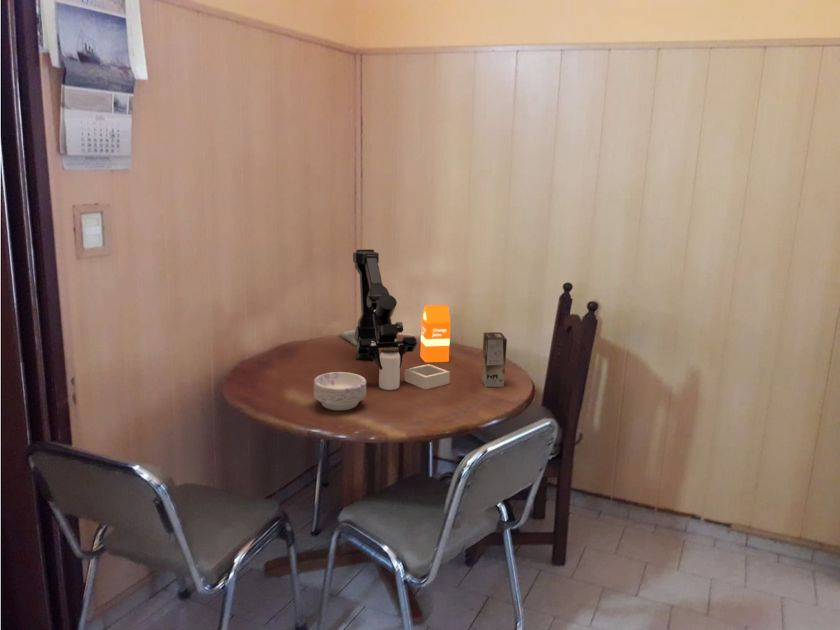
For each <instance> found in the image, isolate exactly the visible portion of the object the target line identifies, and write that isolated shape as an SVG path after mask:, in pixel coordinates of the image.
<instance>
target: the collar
mask: <svg viewBox="0 0 840 630" xmlns="http://www.w3.org/2000/svg"><path fill="white" fill-rule="evenodd" d="M450 376H451V372H450V371H449V370H446V369H443V368H441V367H438V366H436V365H433V364H429V363H427V364H423V365H418V366H417V365H416V366H413V367H410V368H405V369H404V382H407V383H408V384H411V385H414V386H416V387H418V388H420V389H423V390H429V389H433V388H437V387H441V386H444V385H449V384H450V382H451V381H450V378H451V377H450Z"/></svg>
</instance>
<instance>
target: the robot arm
mask: <svg viewBox="0 0 840 630" xmlns="http://www.w3.org/2000/svg"><path fill="white" fill-rule="evenodd" d="M379 254H380V253H379V252H377V251H375V250H374V249H356V251H355V252H353V253H352V262H353V263H354V267H355V269H356V271H357V272H358V274H359V288H360V308H361V314H360V317H359V319H358V321H357V326H356V328H355V329H354V330H355V334H354V337H355V341H356V342H357V343H358V344H357V347H356V354H357V355H356V358H355V359H356V360H363V361H374V363H375V364H376V366H377V367H378V369H379V368H380V370H382V366H381V362H380V350H379V349H396V350H398V351H399V354H400V369H401V367H402V362H403V358H404V357H403V355H405V354H406V353H412V352H414V351H415V349H416V346H417V344H418V342H417V338H416V337H415V336H413V335H412V336H403V337H402V339H401V340H397V338H398V335H399V333H403V332H404V325H403V322H402V321H396V322H395V323H393V322H392V317H393V316H394V315H393V314H394V312H395V310H396V307H397V302H398V301H397V299H396V298H395V297H394V296H393V295H391V294H390V292H389V290H388V288H386V286H384V284H383V281H382V276H381V272H380V271H381V270H380V265H379V263H380V258H379V257H380V256H379ZM359 337H360V338H359ZM395 339H396V340H397V341H395Z"/></svg>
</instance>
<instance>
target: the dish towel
mask: <svg viewBox="0 0 840 630" xmlns="http://www.w3.org/2000/svg"><path fill="white" fill-rule="evenodd" d="M355 330H356V329H354V330H347V331H342V332H339V334H338V336H339V337H340V338H341V337H342V338H341V339H343V340H344V339H345V340H344V341H346V342H347V341H348V342H347V343H349V342H350V343H351V344H350V343H349V344H350V345H352V344H353V345H352V346H354V347H356V348H357V344H358V343H357V342H356V341H355V337H354V334H355ZM359 338H360V337H359ZM395 341H398V340H397V338H396V339H395Z"/></svg>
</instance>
